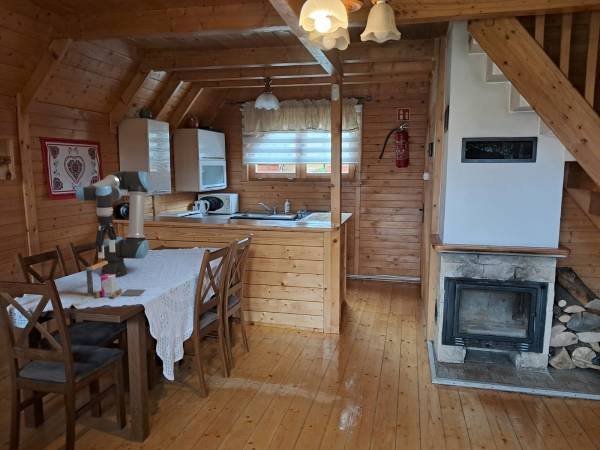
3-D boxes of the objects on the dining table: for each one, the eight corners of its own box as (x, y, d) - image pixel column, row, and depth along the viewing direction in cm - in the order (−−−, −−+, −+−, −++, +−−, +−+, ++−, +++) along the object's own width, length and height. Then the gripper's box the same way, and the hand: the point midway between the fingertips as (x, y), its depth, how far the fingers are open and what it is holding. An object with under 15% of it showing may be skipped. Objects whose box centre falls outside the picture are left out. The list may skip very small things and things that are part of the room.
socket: (93, 292, 246) (91, 268, 244) (121, 293, 246) (120, 269, 244) (84, 298, 237) (82, 273, 234) (114, 299, 236) (112, 274, 234)
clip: (84, 271, 238) (84, 267, 238) (103, 263, 254) (103, 260, 254) (89, 271, 237) (89, 268, 237) (108, 263, 253) (108, 260, 253)
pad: (127, 290, 251) (127, 289, 251) (145, 290, 251) (145, 289, 251) (120, 296, 241) (120, 295, 241) (138, 296, 241) (138, 295, 241)
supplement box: (116, 294, 244) (115, 273, 242) (112, 297, 239) (111, 277, 237) (105, 294, 244) (104, 273, 242) (101, 297, 238) (100, 276, 236)
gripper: (101, 219, 222) (103, 260, 225) (121, 211, 246) (123, 249, 250) (86, 218, 222) (88, 260, 225) (108, 211, 246) (110, 249, 250)
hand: (107, 254), depth 238 cm, fingers open, 13 cm apart
